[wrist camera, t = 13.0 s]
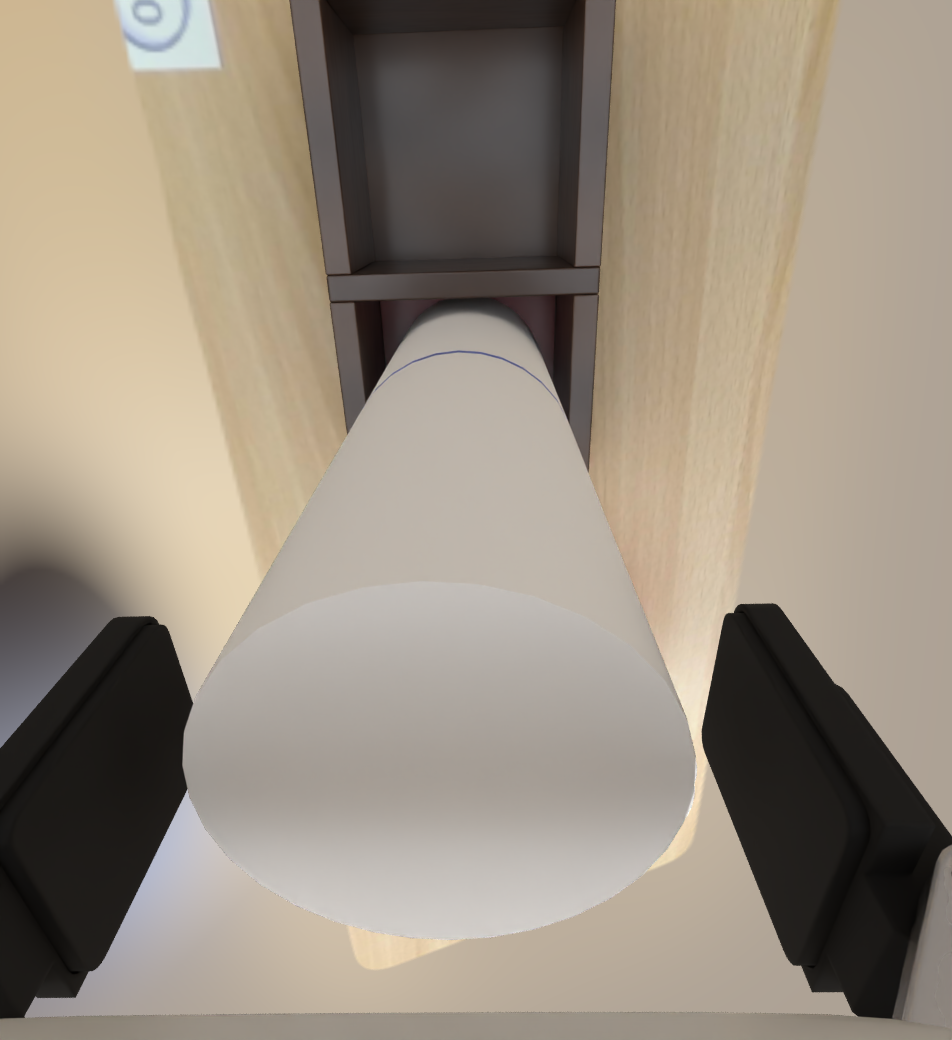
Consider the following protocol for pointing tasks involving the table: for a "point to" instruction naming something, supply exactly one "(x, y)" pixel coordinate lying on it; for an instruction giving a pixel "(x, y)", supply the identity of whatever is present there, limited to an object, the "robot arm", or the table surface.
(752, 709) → the robot arm
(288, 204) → the table surface
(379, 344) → the wooden compartment box
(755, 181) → the table surface
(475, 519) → the cylindrical container
